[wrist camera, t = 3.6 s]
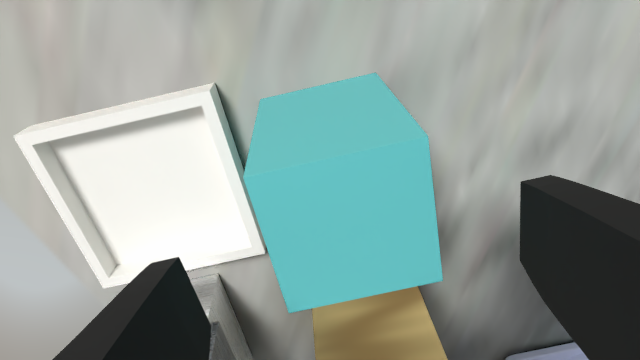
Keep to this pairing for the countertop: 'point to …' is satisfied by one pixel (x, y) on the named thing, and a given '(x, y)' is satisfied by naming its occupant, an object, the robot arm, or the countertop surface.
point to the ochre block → (377, 329)
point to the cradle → (147, 183)
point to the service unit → (221, 320)
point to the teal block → (343, 193)
